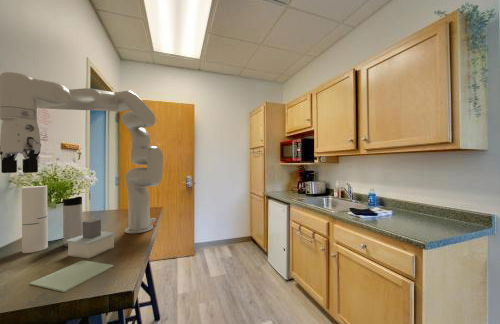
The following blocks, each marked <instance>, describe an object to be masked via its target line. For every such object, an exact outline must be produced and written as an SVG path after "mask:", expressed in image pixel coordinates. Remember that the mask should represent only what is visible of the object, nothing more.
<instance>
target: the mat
mask: <svg viewBox="0 0 500 324" xmlns="http://www.w3.org/2000/svg"><path fill="white" fill-rule="evenodd" d="M113 267H115V265H114V264H110V263H109V264H108V263H102V262H96V261H90V260H89V261H88V260H84V259H83V260H80V261H78V262H75V263H73V264H70V265H68V266H66V267H64V268H61V269H59V270H56V271H54V272H52V273H49V274H47V275H45V276H42V277H40V278H38V279H36V280H33V281H30V282H29V285H30V286H34V287H39V288H43V289H49V290H54V291H58V292H62V293H66V292H68V291H70V290H72V289H74V288H76V287H78V286H79V285H82V284H83V283H85V282H87V281H89V280H91V279H93V278H95V277H97V276H98V275H100V274H102V273H104V272H105V271H107V270H110V269H111V268H113Z"/></svg>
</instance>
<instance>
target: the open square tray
mask: <svg viewBox="0 0 500 324" xmlns="http://www.w3.org/2000/svg"><path fill="white" fill-rule="evenodd" d="M67 247H68V248H67V252H68V253H67V254H68V255H67V256H69V257H75V258H82V259H87V260H90V259H91V258H94V257H95V256H98V255H100V254H102V253H105V252H107V251H110V250H112V249H114V248H115V235H114V236H112V237H109V238H106V239H103V240H101V241H98V242H95V243H93V244H90V245H81V244H73V243H68V246H67Z"/></svg>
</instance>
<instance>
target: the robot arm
mask: <svg viewBox="0 0 500 324" xmlns="http://www.w3.org/2000/svg"><path fill="white" fill-rule="evenodd" d="M38 109H45V110H67V111H68V110H69V111H70V110H72V111H73V110H75V111H99V112H100V111H101V112H102V111H103V112H117V113H118V112H124V113H122V115H121V119H120V120H121V122H122V124H123V125H124V127H125V128H126V129H127V130H128V131H129V133H130V135H131V150H130V161H131V163H132V164H133V165H137V166H146V167H134V168H130V169H129V170H128V171H127V172H126V174H125V182H126V183H125V184H126V187H127V196H128V198H127V199H128V200H127V202H128V203H127V204H128V206H127V208H128V209H127V210H128V214H127V215H128V227H126V228H125V229H124V232H125V233H126V234H140V233H146V232H148V231H151V230H152V229H154V225H153V224H152V223H154V222H156V221H157V218H156V217H152V218H151V215H150V212H151V211H150V210H151V209H150V208H151V207H150V191H149V189H148V187H150V188H151V187H157V186H159V185H160V183H161V181H162V178H163V171H164V170H163V167H164V166H163V165H164V153H163V152H162V150H161V148H159V146H155V145H151V136H150V134H149V132H148V130H147V129H146V128H150V127H153V126H154V125H155V124H156V120H157V119H156V116H155V114H154V112H153V110H152V109H151V108H150V107H149V106H148V105H147V104H146V102H144V101H143V99H142V98H140V96H138V95H137V94H136V93H135V92H133V91H131V90H121V91H109V90H104V89H96V88H89V87H87V88H73V89H68V88H67V87H66V86H64V85H62V84H60V83H57V82H54V81H49V80H43V79H37V78H33V77H31V76H29V75H26V74H22V73H19V72H13V71H12V72H11V71H4V72H1V73H0V120H1V128H0V160H1V161H0V163H1V168H0V169H1V172H0V173H1V174H13V173H15V174H16V173H17V172H18V159H17V157H18V154H21V155H22V156H23V158H22V173H23V174H33V173H35V174H36V173H38V172H39V159H40V156H39V155H40V153H41V150H42V149H41V147H42V143H41V133H40V128H39V123H38Z"/></svg>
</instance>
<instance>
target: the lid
mask: <svg viewBox="0 0 500 324" xmlns="http://www.w3.org/2000/svg"><path fill="white" fill-rule="evenodd" d="M82 224H83V235H81V236H78V237H74V238H71V239H68V240H66V243H73V244H81V245H90V244H93V243H95V242H98V241H101V240H103V239H106V238H109V237H112V236H114V237H115V236H116V235H117V233H116V232H112V231H102V227H101V226H102V225H101V224H102V221H101V219H96V218H92V219H88V220H85V221H82Z"/></svg>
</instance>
